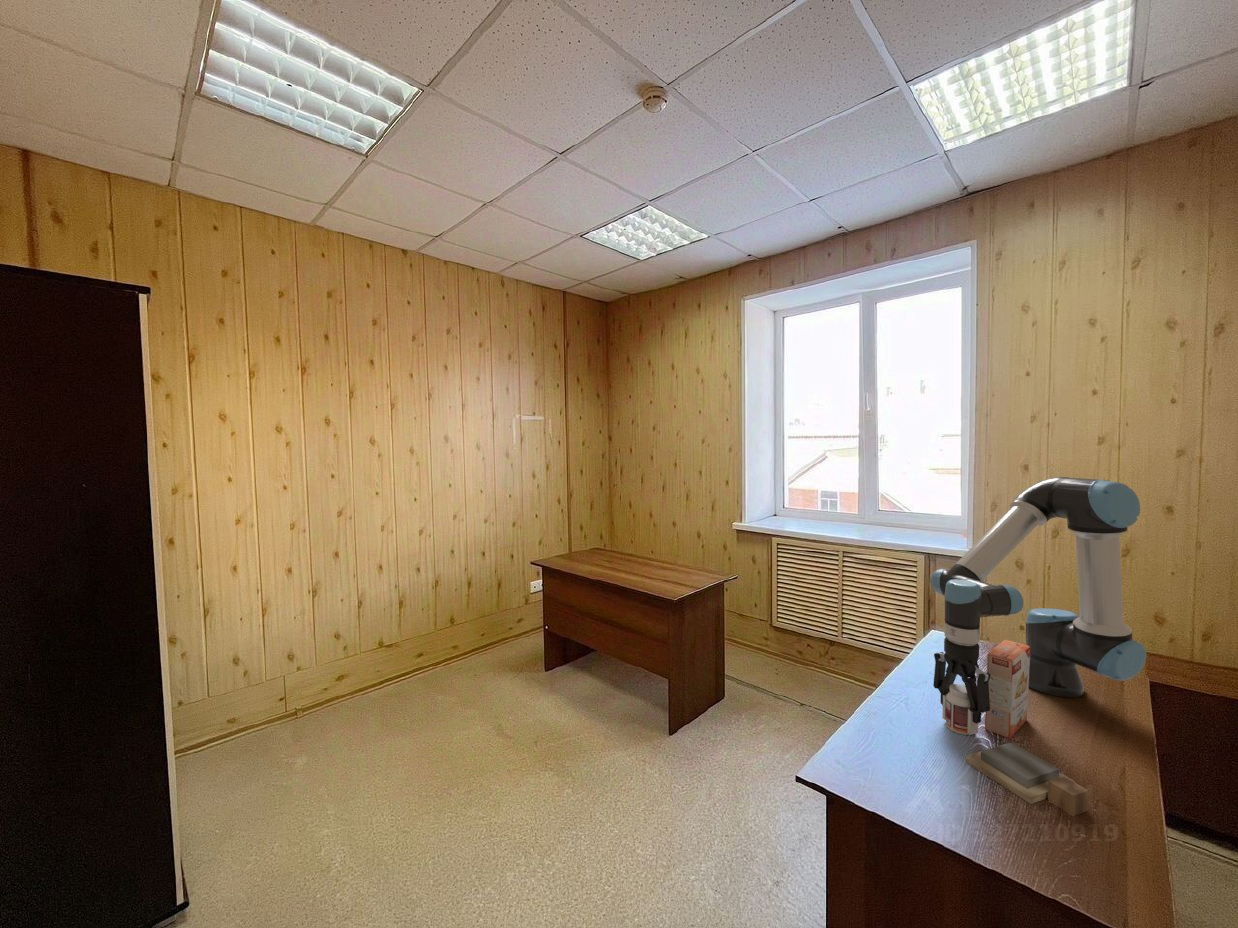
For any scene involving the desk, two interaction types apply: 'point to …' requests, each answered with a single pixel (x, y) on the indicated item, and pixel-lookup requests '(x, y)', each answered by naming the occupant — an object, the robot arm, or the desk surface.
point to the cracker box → (1008, 688)
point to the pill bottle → (957, 709)
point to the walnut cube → (1068, 795)
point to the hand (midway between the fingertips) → (959, 725)
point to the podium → (1016, 770)
